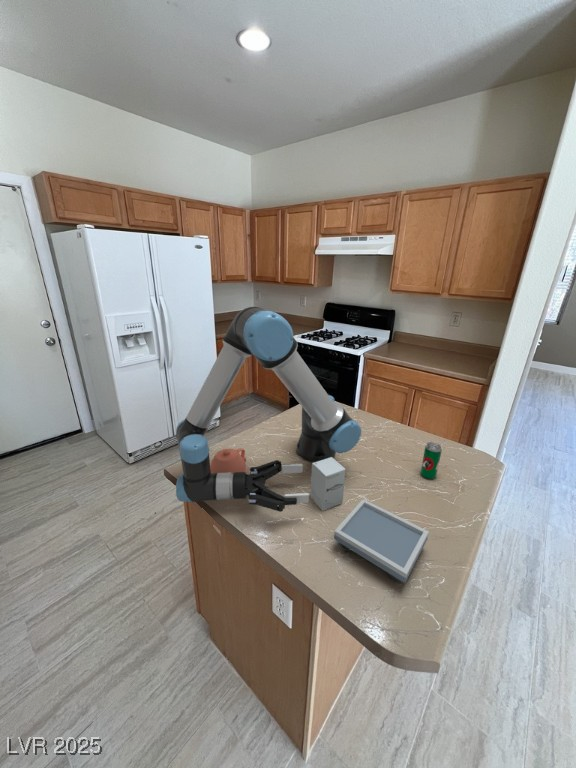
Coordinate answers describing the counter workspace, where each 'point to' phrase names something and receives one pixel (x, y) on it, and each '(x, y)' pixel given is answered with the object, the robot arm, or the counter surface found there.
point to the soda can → (431, 460)
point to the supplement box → (327, 483)
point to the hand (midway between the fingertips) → (305, 482)
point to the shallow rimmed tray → (382, 539)
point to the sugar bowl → (229, 461)
